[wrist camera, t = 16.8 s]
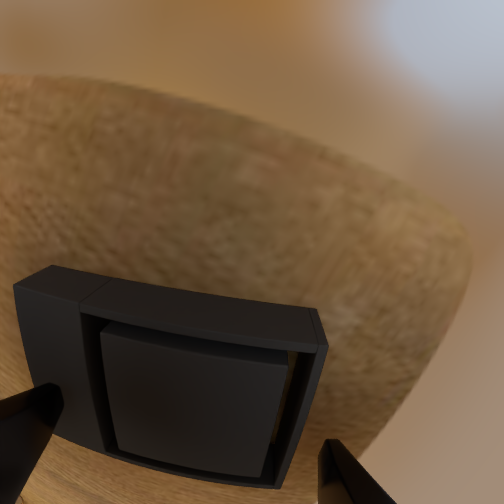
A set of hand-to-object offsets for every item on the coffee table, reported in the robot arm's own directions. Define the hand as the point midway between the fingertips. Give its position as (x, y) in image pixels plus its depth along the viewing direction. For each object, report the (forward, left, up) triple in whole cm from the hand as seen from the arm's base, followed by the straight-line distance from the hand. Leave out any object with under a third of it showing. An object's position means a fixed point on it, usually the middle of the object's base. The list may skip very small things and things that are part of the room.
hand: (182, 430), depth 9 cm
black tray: (+1, 0, -3) cm, 3 cm away
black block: (0, 0, -3) cm, 3 cm away
